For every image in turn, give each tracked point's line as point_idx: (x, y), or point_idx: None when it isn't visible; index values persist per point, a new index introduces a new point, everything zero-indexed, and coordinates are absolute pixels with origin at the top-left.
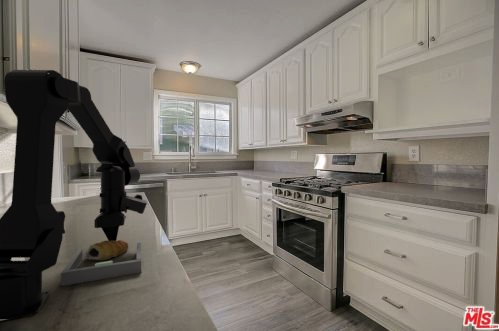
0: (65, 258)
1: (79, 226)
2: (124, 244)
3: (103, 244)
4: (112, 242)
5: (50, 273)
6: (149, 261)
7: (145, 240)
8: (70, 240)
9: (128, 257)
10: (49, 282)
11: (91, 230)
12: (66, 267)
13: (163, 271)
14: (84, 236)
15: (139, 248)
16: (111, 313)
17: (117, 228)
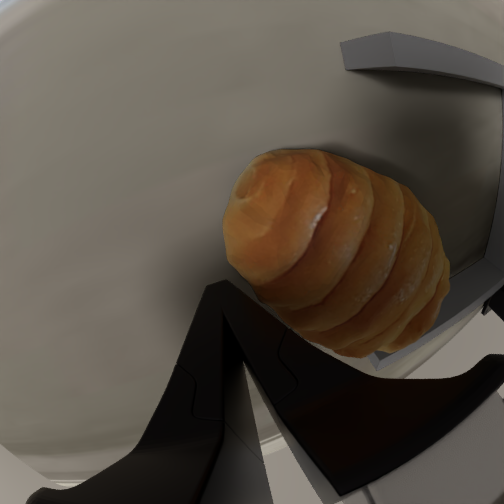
0: None
1: (3, 440)
2: (356, 178)
3: (418, 301)
4: (400, 270)
5: None
6: (457, 28)
7: (28, 94)
8: (107, 442)
9: (408, 117)
10: None
11: (5, 421)
12: (494, 291)
13: (501, 19)
14: (57, 427)
15: (480, 65)
16: None
17: (351, 371)
